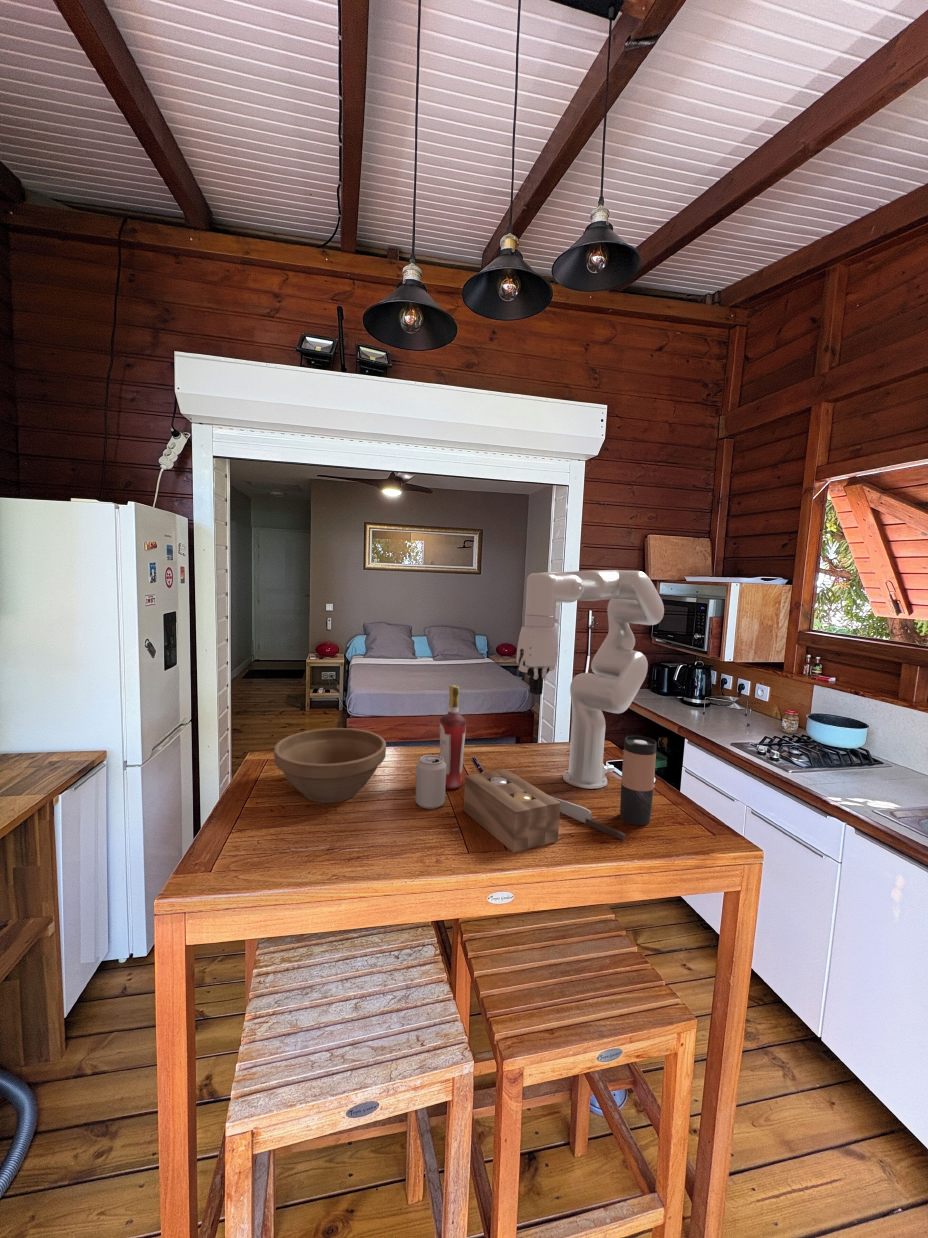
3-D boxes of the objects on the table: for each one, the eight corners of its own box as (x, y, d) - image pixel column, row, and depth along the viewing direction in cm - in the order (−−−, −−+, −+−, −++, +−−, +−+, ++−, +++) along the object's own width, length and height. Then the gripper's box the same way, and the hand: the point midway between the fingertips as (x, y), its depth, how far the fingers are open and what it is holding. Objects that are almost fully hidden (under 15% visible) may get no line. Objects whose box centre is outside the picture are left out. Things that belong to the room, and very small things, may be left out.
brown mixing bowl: (320, 828, 122) (321, 772, 121) (250, 793, 139) (251, 743, 138) (406, 791, 145) (408, 743, 144) (337, 764, 162) (338, 721, 161)
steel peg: (499, 809, 134) (501, 776, 134) (508, 815, 131) (510, 782, 130) (486, 812, 133) (487, 778, 132) (494, 818, 129) (496, 784, 128)
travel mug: (651, 815, 136) (656, 738, 134) (651, 828, 129) (657, 747, 127) (619, 809, 139) (625, 733, 137) (618, 822, 131) (623, 742, 130)
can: (440, 812, 133) (442, 765, 132) (411, 808, 134) (413, 761, 133) (447, 799, 140) (449, 755, 139) (420, 796, 142) (421, 751, 141)
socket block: (504, 802, 140) (505, 769, 139) (557, 841, 121) (560, 802, 120) (463, 810, 134) (465, 775, 133) (513, 853, 115) (515, 812, 114)
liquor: (433, 782, 151) (437, 684, 149) (457, 779, 154) (462, 683, 151) (442, 792, 144) (446, 690, 142) (467, 789, 147) (472, 689, 145)
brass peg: (522, 826, 126) (524, 791, 125) (533, 834, 122) (535, 798, 122) (508, 829, 124) (510, 794, 123) (518, 837, 120) (520, 801, 120)
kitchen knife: (626, 825, 123) (526, 781, 145) (624, 827, 122) (523, 782, 144) (625, 843, 123) (525, 796, 145) (622, 844, 123) (522, 797, 144)
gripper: (553, 620, 143) (550, 688, 144) (506, 621, 136) (503, 692, 137) (572, 623, 136) (568, 694, 138) (524, 624, 129) (520, 699, 131)
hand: (535, 693), depth 138 cm, fingers closed
